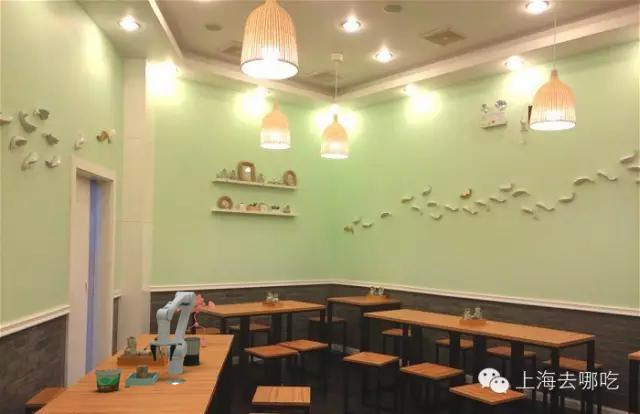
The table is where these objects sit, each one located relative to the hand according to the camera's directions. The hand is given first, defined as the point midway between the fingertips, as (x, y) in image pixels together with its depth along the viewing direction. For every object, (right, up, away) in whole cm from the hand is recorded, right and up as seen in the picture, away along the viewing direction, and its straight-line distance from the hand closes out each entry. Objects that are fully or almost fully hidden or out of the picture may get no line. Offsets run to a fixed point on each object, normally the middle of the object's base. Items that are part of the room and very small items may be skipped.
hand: (162, 360), depth 282 cm
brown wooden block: (-9, -9, -5) cm, 14 cm away
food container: (-20, -9, -19) cm, 29 cm away
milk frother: (+3, -13, +36) cm, 38 cm away
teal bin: (-9, -10, -5) cm, 14 cm away
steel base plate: (+7, -10, -4) cm, 13 cm away
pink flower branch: (-4, -16, +88) cm, 89 cm away
